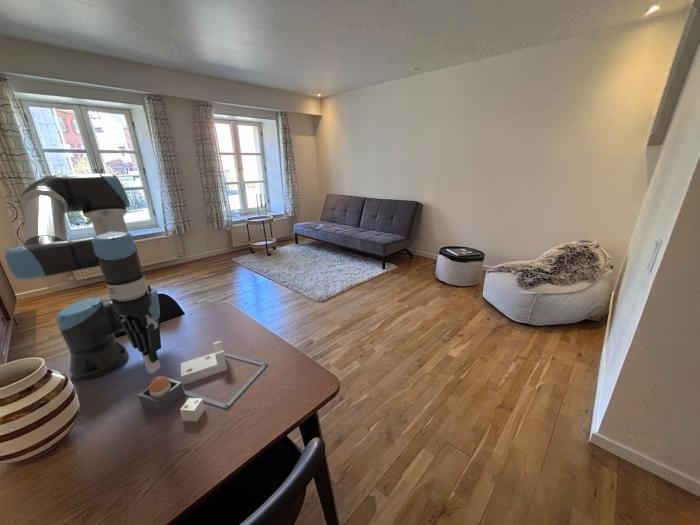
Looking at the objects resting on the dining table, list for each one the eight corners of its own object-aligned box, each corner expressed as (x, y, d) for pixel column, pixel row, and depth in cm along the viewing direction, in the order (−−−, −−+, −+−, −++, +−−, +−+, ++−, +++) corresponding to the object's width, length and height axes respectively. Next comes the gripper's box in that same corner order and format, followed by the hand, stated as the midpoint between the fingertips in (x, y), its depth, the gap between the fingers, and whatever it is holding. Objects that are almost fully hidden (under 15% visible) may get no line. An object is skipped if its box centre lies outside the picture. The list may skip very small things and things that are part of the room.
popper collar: (142, 408, 80) (137, 394, 78) (167, 389, 86) (163, 376, 85) (161, 416, 77) (157, 402, 76) (185, 395, 84) (181, 382, 82)
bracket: (224, 358, 100) (220, 340, 97) (227, 370, 94) (223, 351, 92) (183, 371, 94) (178, 353, 91) (183, 385, 88) (178, 366, 86)
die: (182, 420, 76) (179, 409, 74) (191, 408, 80) (188, 397, 78) (196, 421, 76) (193, 410, 74) (205, 409, 79) (202, 398, 78)
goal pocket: (178, 393, 85) (178, 391, 85) (225, 353, 102) (225, 352, 102) (226, 409, 79) (226, 408, 79) (267, 364, 96) (267, 363, 96)
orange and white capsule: (149, 403, 80) (142, 382, 77) (165, 390, 84) (159, 370, 82) (161, 408, 78) (155, 387, 76) (177, 394, 83) (171, 374, 80)
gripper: (96, 297, 68) (124, 373, 77) (133, 306, 64) (158, 385, 73) (128, 284, 75) (150, 355, 84) (163, 292, 71) (183, 366, 79)
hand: (154, 369), depth 78 cm, fingers closed
